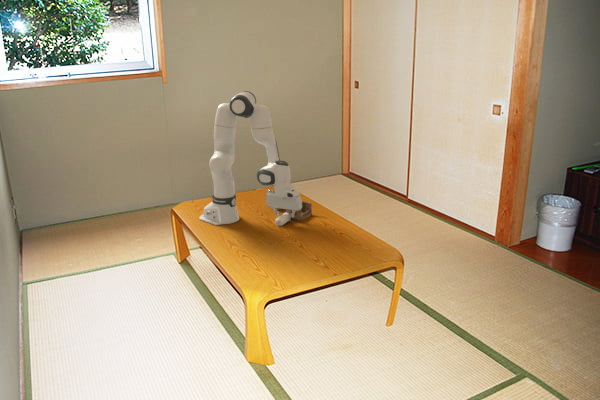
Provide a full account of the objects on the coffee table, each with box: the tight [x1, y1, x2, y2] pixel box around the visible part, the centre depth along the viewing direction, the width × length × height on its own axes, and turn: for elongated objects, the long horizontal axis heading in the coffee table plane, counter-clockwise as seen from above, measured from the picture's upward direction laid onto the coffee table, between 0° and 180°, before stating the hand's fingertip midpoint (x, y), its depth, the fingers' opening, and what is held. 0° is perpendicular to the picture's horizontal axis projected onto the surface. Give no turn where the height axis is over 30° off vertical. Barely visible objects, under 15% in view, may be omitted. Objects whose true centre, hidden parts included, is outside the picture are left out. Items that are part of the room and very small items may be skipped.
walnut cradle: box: [285, 200, 313, 223], centre depth 292 cm, size 9×13×7 cm
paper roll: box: [274, 211, 291, 227], centre depth 284 cm, size 8×5×5 cm, turn 151°
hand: (284, 216), depth 283 cm, fingers open, 8 cm apart
